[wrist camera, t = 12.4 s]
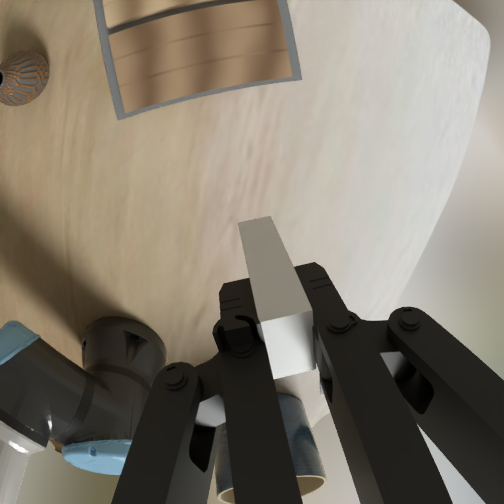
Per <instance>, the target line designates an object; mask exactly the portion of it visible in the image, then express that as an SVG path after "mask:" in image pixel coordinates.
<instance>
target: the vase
mask: <svg viewBox="0 0 504 504" xmlns="http://www.w3.org/2000/svg"><path fill="white" fill-rule="evenodd" d="M48 79H49V66H48V64H47V61H46V60H45V58H44V57H43V56H42V55H40V54H39V53H36V52H33V51H19V52H16V53H14V54H12V55H10V56H8V57H7V58H6V59H4V60H3V61H2V62H1V63H0V102H1V103H3V104H5V105H9V106H20V105H24V104H27V103H29V102H31V101H33V100H34V99H35V98H37V97H38V96H39V95H40V94H41V93H42V91H43V90H44V88H45V87H46V85H47V82H48Z"/></svg>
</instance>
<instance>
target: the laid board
mask: <svg viewBox="0 0 504 504" xmlns="http://www.w3.org/2000/svg"><path fill="white" fill-rule="evenodd" d="M108 37H109V42H110V47H111V52H112V57H113V62H114V67H115V72H116V76H117V81H118V85H119V89H120V94H121V98H122V102H123V106H124V110H125V114H126V113H129V112H132V111H135V110H138V109H142V108H145V107H148V106H151V105H155V104H158V103H162V102H165V101H169V100H173V99H176V98H180V97H184V96H188V95H192V94H197V93H201V92H205V91H210V90H214V89H219V88H224V87H229V86H234V85H240V84H246V83H252V82H258V81H264V80H271V79H279V78H287V77H292V71H291V66H290V60H289V55H288V49H287V44H286V39H285V34H284V29H283V25H282V20H281V15H280V10H279V6H278V1H277V0H254V1H245V2H238V3H231V4H224V5H218V6H213V7H207V8H202V9H197V10H193V11H188V12H184V13H179V14H175V15H171V16H168V17H164V18H160V19H157V20H153V21H150V22H147V23H143V24H140V25H137V26H134V27H131V28H128V29H125V30H122V31H119V32H117V33H114V34H111V35H109V36H108Z"/></svg>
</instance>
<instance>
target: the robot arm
mask: <svg viewBox="0 0 504 504" xmlns="http://www.w3.org/2000/svg"><path fill="white" fill-rule="evenodd" d="M238 226H239V231H240V235H241V240H242V245H243V250H244V254H245V259H246V264H247V268H248V273H249V278H246V279H242V280H237V281H233V282H228V283H224V284H223V286H222V288H221V290H220V292H219V301H220V311H221V312H220V315H221V319H220V320H218V322H217V323H216V324H215V326H214V328H213V332H212V334H213V337H214V339H215V342H216V345H217V347H218V350H219V352H218V353H217V354H216V355H215V356H214V357H213V358H212V359H210V360H209V361H207V362H205V363H203V364H201V365H198V366H196V367H193V366H192V365H190V364H188V363H184V362H178V363H172V364H170V365H167V366H165V363H166V349H165V346H164V344H163V342H162V340H161V339H160V338H159V337H158V335H157V334H155V333H154V332H153V331H152V330H151V329H149V328H148V327H146V326H144V325H142V324H141V323H138V322H136V321H133V320H130V319H126V318H119V317H108V318H102V319H99V320H97V321H95V322H93V323H92V324H91V325H90V326H89V327H88V328H87V330H86V332H85V335H84V337H83V340H82V363H83V369H82V368H81V367H79V366H78V365H76V364H75V363H74V362H72V361H71V360H69V359H68V358H66V357H65V356H64V355H62V354H61V353H60V352H58V351H57V350H56V349H54V348H53V347H52V346H50V345H49V344H48V343H46V342H45V341H44V340H43V339H41V338H40V337H41V336H40V335H38V334H35V333H34V332H32V331H31V330H30V329H28V328H27V327H26V326H24V325H23V324H22V323H20V322H18V321H14V320H13V321H9V322H7V323H6V324H5V325H4V326H3V327H2V328H1V329H0V504H16V501H17V497H18V493H19V490H20V487H21V483H22V480H23V476H24V473H25V470H26V467H27V464H28V461H29V458H30V455H31V454H33V453H35V452H40V451H43V450H45V449H46V446H47V443H48V440H49V439H51V440H54V441H55V442H57V443H59V444H61V445H62V446H63V448H62V454H63V457H64V459H65V460H66V461H68V462H69V463H70V464H72V465H74V466H76V467H79V468H81V469H85V470H88V471H92V472H97V473H102V474H113V475H120V478H119V481H118V484H117V487H116V490H115V493H114V497H113V500H112V503H111V504H207V499H208V494H209V489H210V483H211V479H212V474H213V469H214V464H215V458H216V453H217V448H218V443H219V438H220V433H221V427H222V423H225V422H226V429H227V439H228V448H229V457H230V466H231V475H232V483H233V491H234V499H235V504H303V502H302V498H301V494H300V490H299V485H298V481H297V477H296V473H295V468H294V464H293V460H292V456H291V452H290V447H289V443H288V439H287V435H286V430H285V426H284V422H283V417H282V413H281V409H280V404H279V400H278V396H277V392H276V387H275V383H274V379H277V378H281V377H286V376H290V375H294V374H298V373H302V372H306V371H310V370H314V369H316V363H317V366H318V369H319V372H320V394H323V393H324V395H325V398H326V400H327V403H328V406H329V409H330V412H331V415H332V418H333V421H334V424H335V427H336V430H337V433H338V436H339V439H340V442H341V445H342V448H343V451H344V454H345V457H346V460H347V463H348V466H349V469H350V472H351V475H352V478H353V482H354V485H355V488H356V491H357V494H358V497H359V500H360V503H361V504H453V503H452V500H451V498H450V496H449V493H448V491H447V489H446V486H445V484H444V482H443V480H442V477H441V475H440V472H439V470H438V468H437V466H436V464H435V462H434V459H433V457H432V455H431V453H430V451H429V448H428V447H427V444H426V442H425V440H424V438H423V436H422V434H421V432H420V430H419V428H418V426H417V424H418V425H419V427H420V428H421V429H422V430H423V431H424V432H425V434H426V435H427V436H428V437H429V438H430V439H431V440H432V442H433V443H434V444H435V445H436V446H437V447H438V448H439V450H440V451H441V452H442V453H443V454H444V455H445V456H446V458H447V459H448V460H449V461H450V462H451V463H452V465H453V466H454V467H455V468H456V469H457V471H458V472H459V473H460V474H461V475H462V476H463V477H464V479H465V480H466V481H467V482H468V483H469V484H470V486H471V487H472V488H473V489H474V490H475V491H476V493H477V494H478V495H479V496H480V497H481V499H482V500H483V501H484V502H485V503H486V504H504V380H503V379H501V378H500V377H499V376H498V375H497V374H496V373H495V372H494V371H493V370H492V369H490V368H489V367H488V366H487V365H486V364H485V363H484V362H483V361H482V360H480V359H479V358H478V357H477V356H476V355H475V354H474V353H472V352H471V351H470V350H469V349H468V348H467V347H466V346H464V345H463V344H462V343H461V342H460V341H459V340H457V339H456V338H455V337H454V336H453V335H452V334H450V333H449V332H448V331H447V330H446V329H444V328H443V327H442V326H441V325H440V324H438V323H437V322H436V321H435V320H434V319H432V318H431V317H430V316H429V315H427V314H426V313H425V312H423V311H422V310H420V309H418V308H414V307H402V308H399V309H396V310H395V311H393V312H392V313H391V314H390V317H389V319H388V320H383V321H366V320H362V319H360V318H359V317H358V316H357V314H355V313H353V312H351V311H348V309H347V307H346V306H345V304H344V302H343V300H342V299H341V297H340V295H339V293H338V292H337V290H336V288H335V286H334V285H333V283H332V281H331V279H330V278H329V276H328V274H327V272H326V271H325V269H324V268H323V267H321V266H320V265H318V264H317V263H315V262H313V263H309V264H304V265H300V266H296V267H293V264H292V262H291V260H290V258H289V256H288V253H287V251H286V249H285V247H284V244H283V242H282V240H281V238H280V236H279V234H278V231H277V229H276V227H275V225H274V223H273V220H272V218H271V216H268V217H263V218H259V219H254V220H249V221H245V222H240V223H238Z"/></svg>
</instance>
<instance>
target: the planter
mask: <svg viewBox="0 0 504 504" xmlns="http://www.w3.org/2000/svg"><path fill="white" fill-rule="evenodd" d="M277 396H278V400H279V404H280V409H281V413H282V417H283V422H284V426H285V430H286V435H287V439H288V443H289V447H290V452H291V456H292V460H293V464H294V468H295V473H296V477H297V481H298V485H299V490H300V494H301V497H302V496H305V495H308V494H310V493H312V492H314V491H316V490H318V489H320V488H321V487H323V486H324V485H325V484H326V482H327V478H326V475H325V471H324V468H323V465H322V461H321V458H320V455H319V452H318V448H317V445H316V442H315V439H314V436H313V433H312V430H311V427H310V424H309V421H308V418H307V415H306V412H305V408H304V406H303V404H302V402H301V401H300V400H299V399H297V398H295V397H293V396H291V395H287V394H282V393H277ZM215 478H216V491H217V499H218V500H219V501H221V502H224V503H227V504H235V499H234V491H233V483H232V475H231V466H230V457H229V448H228V439H227V429H226V422H225V423H222V427H221V433H220V438H219V443H218V448H217V453H216V458H215Z"/></svg>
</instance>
